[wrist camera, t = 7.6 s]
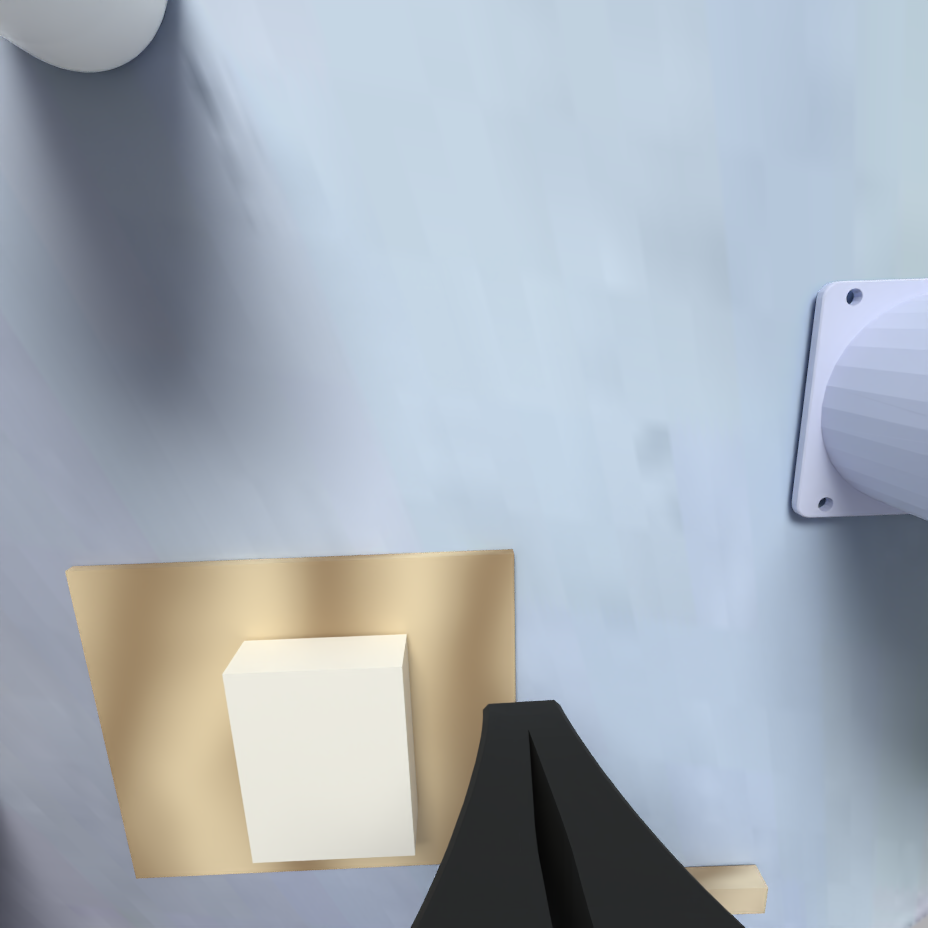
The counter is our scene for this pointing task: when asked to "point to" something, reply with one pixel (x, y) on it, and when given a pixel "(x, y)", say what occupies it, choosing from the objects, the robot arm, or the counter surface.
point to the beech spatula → (734, 887)
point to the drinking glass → (81, 30)
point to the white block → (324, 747)
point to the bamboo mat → (269, 618)
